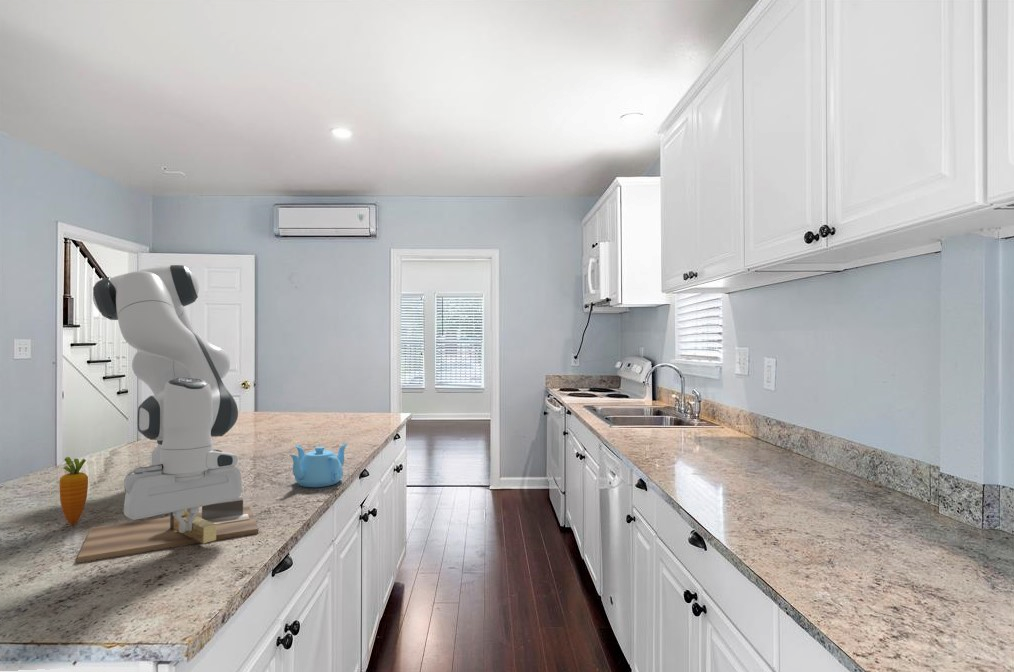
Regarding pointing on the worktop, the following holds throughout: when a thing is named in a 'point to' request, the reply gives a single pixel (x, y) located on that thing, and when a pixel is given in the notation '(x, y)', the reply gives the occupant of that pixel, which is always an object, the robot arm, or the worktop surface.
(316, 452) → the teapot
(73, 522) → the carrot
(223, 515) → the latch board
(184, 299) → the robot arm
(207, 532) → the swing bar
